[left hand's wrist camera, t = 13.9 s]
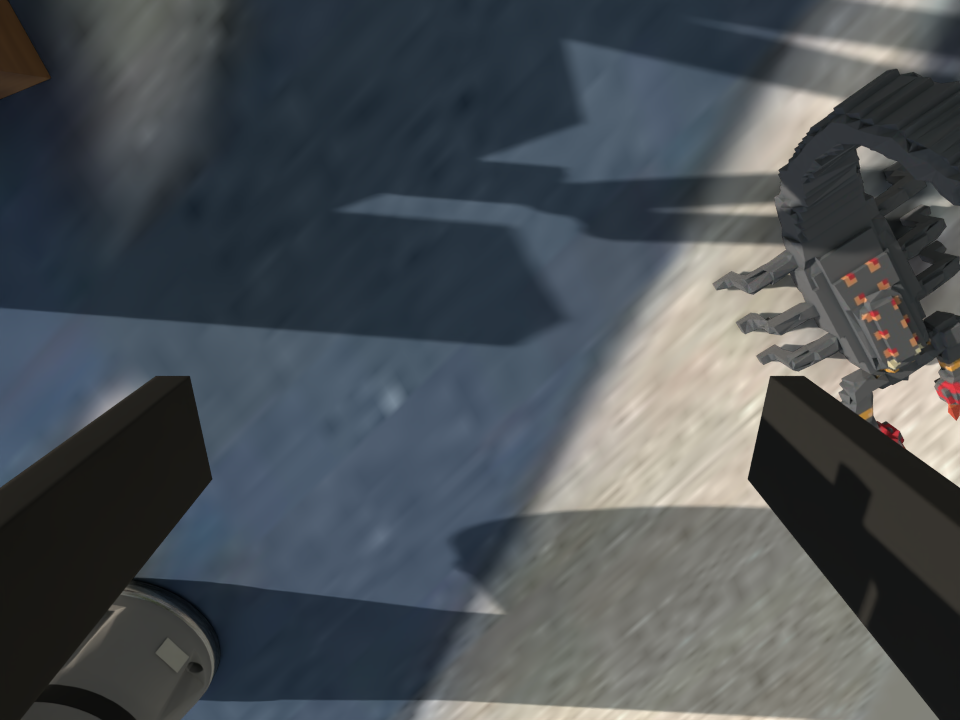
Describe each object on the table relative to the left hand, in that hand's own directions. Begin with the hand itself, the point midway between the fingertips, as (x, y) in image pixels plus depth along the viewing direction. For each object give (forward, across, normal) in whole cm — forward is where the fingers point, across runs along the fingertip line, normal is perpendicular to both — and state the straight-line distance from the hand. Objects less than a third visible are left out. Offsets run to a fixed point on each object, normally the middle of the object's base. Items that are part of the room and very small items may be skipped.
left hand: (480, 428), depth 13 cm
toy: (+26, -24, +3) cm, 35 cm away
